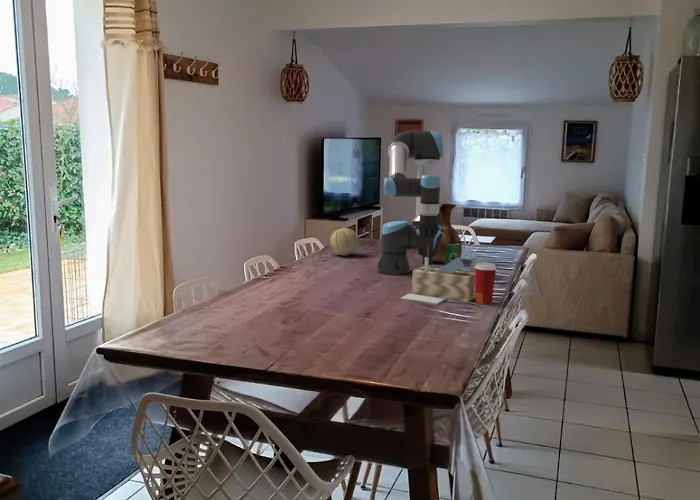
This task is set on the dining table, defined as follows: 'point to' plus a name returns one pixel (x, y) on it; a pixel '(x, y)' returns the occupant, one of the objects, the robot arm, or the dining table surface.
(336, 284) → the dining table surface
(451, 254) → the coffee box
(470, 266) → the ceramic mug
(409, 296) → the mat
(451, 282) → the jig
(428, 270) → the robot arm
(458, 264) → the bar
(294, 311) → the dining table surface
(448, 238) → the ceramic pitcher
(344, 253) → the cantaloupe
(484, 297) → the coffee cup
